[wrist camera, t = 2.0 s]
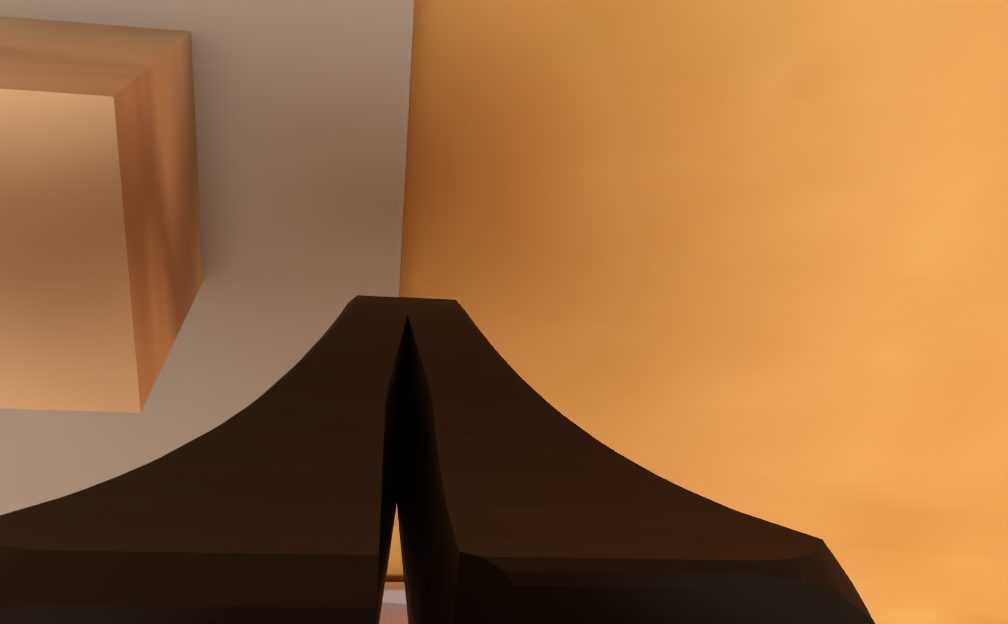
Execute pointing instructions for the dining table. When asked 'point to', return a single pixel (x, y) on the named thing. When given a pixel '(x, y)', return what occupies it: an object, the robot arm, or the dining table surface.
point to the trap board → (250, 216)
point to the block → (94, 211)
